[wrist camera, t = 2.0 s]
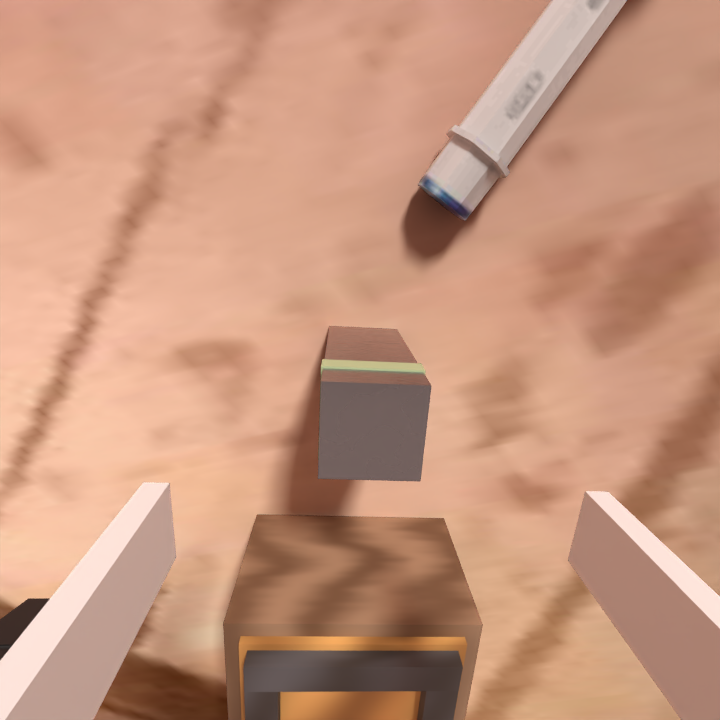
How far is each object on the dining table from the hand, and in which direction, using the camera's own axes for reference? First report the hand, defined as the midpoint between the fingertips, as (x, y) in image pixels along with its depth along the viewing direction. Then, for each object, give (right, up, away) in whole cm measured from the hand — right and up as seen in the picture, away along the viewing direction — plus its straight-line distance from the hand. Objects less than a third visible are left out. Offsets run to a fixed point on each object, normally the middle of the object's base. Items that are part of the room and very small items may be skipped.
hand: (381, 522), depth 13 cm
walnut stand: (-2, -16, +24) cm, 29 cm away
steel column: (-1, +5, +17) cm, 18 cm away
